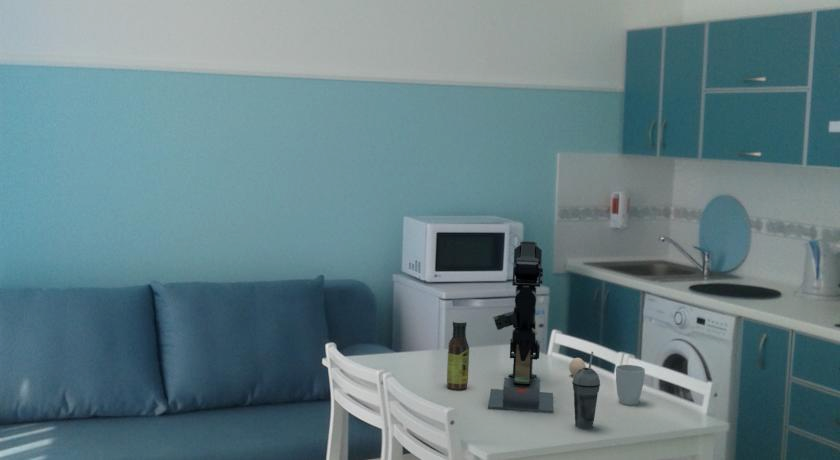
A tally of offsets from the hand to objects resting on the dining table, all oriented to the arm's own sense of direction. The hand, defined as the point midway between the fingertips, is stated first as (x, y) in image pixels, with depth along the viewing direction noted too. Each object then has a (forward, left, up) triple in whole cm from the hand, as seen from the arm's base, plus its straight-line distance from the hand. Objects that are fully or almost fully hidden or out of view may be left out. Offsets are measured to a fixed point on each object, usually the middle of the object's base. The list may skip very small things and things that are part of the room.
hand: (523, 359), depth 283 cm
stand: (0, 0, -12) cm, 12 cm away
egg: (-37, -2, -13) cm, 39 cm away
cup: (-21, +23, -13) cm, 34 cm away
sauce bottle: (0, -22, -13) cm, 25 cm away
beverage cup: (+8, +24, -13) cm, 28 cm away
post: (0, 0, -8) cm, 8 cm away
